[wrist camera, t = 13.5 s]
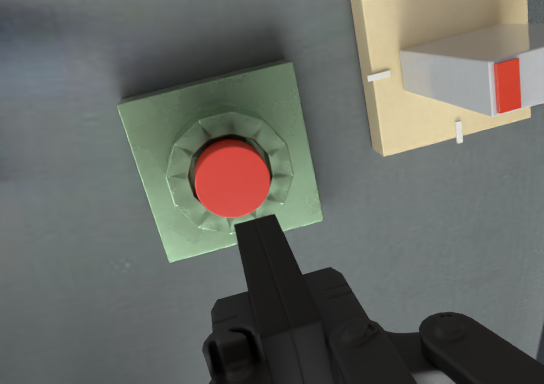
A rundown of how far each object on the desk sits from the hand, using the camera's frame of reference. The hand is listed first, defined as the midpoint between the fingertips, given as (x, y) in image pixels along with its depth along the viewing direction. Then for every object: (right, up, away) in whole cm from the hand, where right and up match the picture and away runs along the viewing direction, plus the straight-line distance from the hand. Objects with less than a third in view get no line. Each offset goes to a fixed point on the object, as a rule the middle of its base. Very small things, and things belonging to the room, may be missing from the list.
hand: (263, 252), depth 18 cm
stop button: (-2, +3, +10) cm, 11 cm away
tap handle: (+11, +10, +12) cm, 19 cm away
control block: (-3, +4, +13) cm, 14 cm away
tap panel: (+11, +11, +13) cm, 20 cm away
